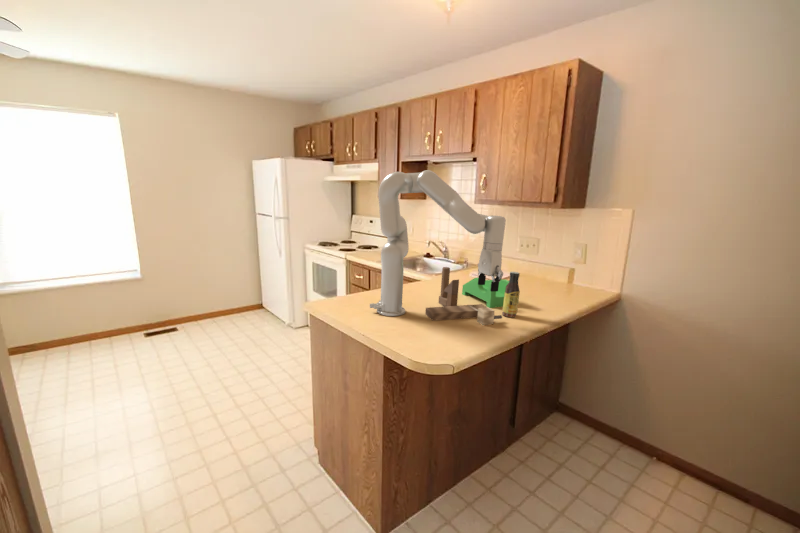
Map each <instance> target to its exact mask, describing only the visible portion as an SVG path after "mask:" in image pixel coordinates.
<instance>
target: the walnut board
mask: <svg viewBox="0 0 800 533" xmlns="http://www.w3.org/2000/svg"><path fill="white" fill-rule="evenodd" d="M478 308H487V306H486V305H484V304H482V303H481V304H480V303H479V304H464V305H457V306H432V307H431V306H430V307H425V311H424V312H425V314H424V315H426V316H427V317H428V318H429V319H430V320H431V321H444V320H458V319H470V318H477V317H478Z"/></svg>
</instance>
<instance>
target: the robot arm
mask: <svg viewBox="0 0 800 533" xmlns="http://www.w3.org/2000/svg"><path fill="white" fill-rule="evenodd" d="M414 193H415V194H417V193H418V194H419V193H423V194H425V195H426V196H428V198H430V200H432V201H433V202H434V203H436V204H437V205H438V206H439V207H440V208H441V209H442V210H443V211H444V212H445V213H447V214H448V215H449V216H450V217H451V218H453V219H454V220H455V221H456V223H458V224H459V225H460V226H461V227H463V228H464V229H465V230H466V231H467V232H468V233H470V234H473V235H478V234H480V233H483V232H484V236H483V242H482V243H483V245H482V248H481V251H480V255H479V259H478V260H479V261H478V263H477V272H478V273H477V275H478V277H477V278H478V285H485V280H487V279H486V278H487V276H488V277H491V280H493V281H492V282H491V289H490V291H492V292H495V291H498V287H499V282H500V280H503V276H504V272H503V270H502V260H503V259H502V256H503V255H502V253H503V245H504V236H505V228H506V220H507V219H506V218H505V216H502V215H494V214H493V215H491V214H490V215H487V214H481V213H478V212H477V211H475V210H474V208H472V207H471V206H470V205H469V204H468V203H467V202H466V201H465V200H464V199H463V198H462V197H461V195H460V194H459V193H458V192H457V191H456V190H455V189H454V188H453V187H451V186H450V185H449V184H448V183H447V182H445V181H444V180H443V179H442V178H441V177H440V176H439V175H438V174H437V173H436V172H434V171H433V170H430V169H427V170H423V171H420V172H407V173H405V172H403V171H395V172H391V173H389V174H388V175H386V176H385V177H384V178H383V179H382V180H381V182H380V185H379V187H378V192H377V197H378V208H379V220H380V230H381V233H382V235H384V236H385V237H387V238H386V239H387V242H386V243H385V244H384V245H383V246H382V248H381V251H380V263H381V272H380V273H381V281H380V300H378V301H377V302H376V303H373V302H371V303H369V308H370V309H372V308H373V310H376V312H377V313H378V314H379V315H381V316H385V317H386V316H387V317H397V316H402V315H404V314H405V313H406V309H405V307H403V291H404V290H403V288H404V258H406V256H407V255H408V253H409V249H410V248H409V237H408V235H409V234H408V225H407V222H406V219H405V217H403V216H402V215H401V210H400V201H399V200H400V199H399V195H400V194H414Z"/></svg>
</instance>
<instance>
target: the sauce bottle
mask: <svg viewBox="0 0 800 533" xmlns="http://www.w3.org/2000/svg"><path fill="white" fill-rule="evenodd" d="M520 274H521V273H520V272H518V271H510V272H509V280H508V281H509V283H508V284H507V286H506V289H505V295H504V302H503V307H502V309H501V310H502V314H501V315H502V316H503V317H504V316H505V317H506V318H515V317H517V312H518V308H519V300H520V292H521V291H520V288H519V287H520V286H519V278H520Z"/></svg>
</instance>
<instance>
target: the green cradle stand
mask: <svg viewBox="0 0 800 533" xmlns="http://www.w3.org/2000/svg"><path fill="white" fill-rule="evenodd" d="M478 278H479V277H474V278H472V279H471V280H469V281H467V282H466V283H464V284H462V290H461V294H462V295H463V296H466V297H467V296H474V297H476V298H478V299H480V300H481V301H482V300H483V301H484V302H486V305H485V306H486V307H489V308H491V309H493V308H494V309H495V308H503V302H504V295H505V289H506V286H507V284H508V283H509V280H508V279H501V280H500V282H499V287H498V291H495V292H492V291H490V289H491V282H492V281H493V280H492V279H486V280H485V285H478Z"/></svg>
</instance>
